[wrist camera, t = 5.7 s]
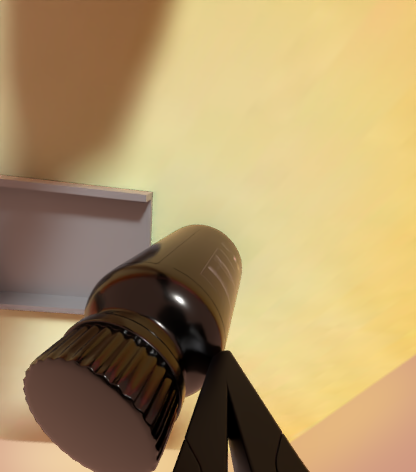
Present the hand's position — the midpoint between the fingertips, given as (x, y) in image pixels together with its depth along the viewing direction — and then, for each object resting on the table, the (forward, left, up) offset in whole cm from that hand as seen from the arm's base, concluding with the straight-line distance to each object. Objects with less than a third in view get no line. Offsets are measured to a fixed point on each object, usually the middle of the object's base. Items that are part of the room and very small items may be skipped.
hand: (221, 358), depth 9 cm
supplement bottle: (0, 0, -9) cm, 9 cm away
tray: (+10, -7, -10) cm, 16 cm away
